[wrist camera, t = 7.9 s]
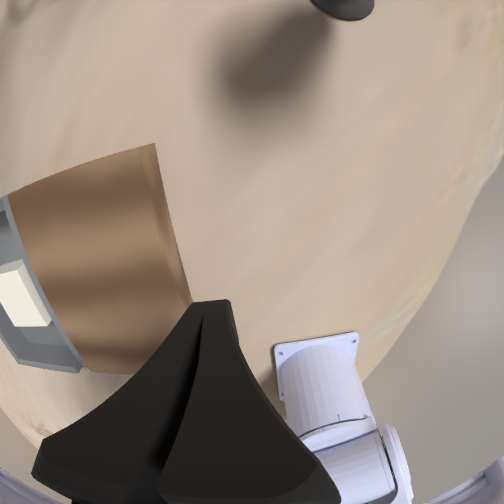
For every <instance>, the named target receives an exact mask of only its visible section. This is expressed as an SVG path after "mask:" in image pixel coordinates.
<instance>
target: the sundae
mask: <svg viewBox="0 0 504 504" xmlns="http://www.w3.org/2000/svg"><path fill="white" fill-rule="evenodd" d="M312 1H313V2H314V3H315V4H316V5H317V6H319V7H320V8H321V9H322V10H324V11H325V12H327V13H329V14H331V15H333V16H335V17H338V18H342V19H347V20H357V19H362V18H364V17H366V16H368V15H369V14H370V13H371V12H372V10H373V8H374V0H312Z"/></svg>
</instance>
